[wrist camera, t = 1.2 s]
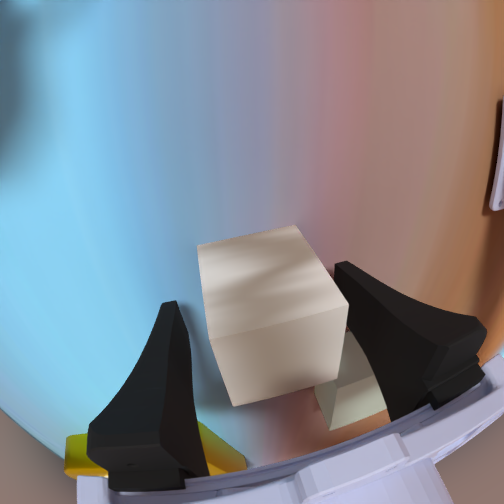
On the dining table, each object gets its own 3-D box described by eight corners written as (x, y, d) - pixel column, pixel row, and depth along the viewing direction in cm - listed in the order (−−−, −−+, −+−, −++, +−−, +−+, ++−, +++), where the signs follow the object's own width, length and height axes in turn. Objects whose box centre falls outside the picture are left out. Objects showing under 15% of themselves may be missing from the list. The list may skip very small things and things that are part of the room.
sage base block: (403, 308, 20) (433, 348, 17) (387, 363, 24) (407, 398, 21) (314, 339, 19) (337, 388, 16) (313, 391, 23) (329, 431, 20)
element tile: (190, 409, 21) (197, 464, 17) (248, 457, 30) (257, 492, 26) (58, 433, 21) (54, 475, 17) (141, 476, 30) (143, 508, 26)
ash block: (294, 224, 14) (348, 304, 9) (297, 297, 16) (336, 378, 12) (196, 245, 13) (209, 339, 9) (215, 316, 16) (233, 406, 11)
